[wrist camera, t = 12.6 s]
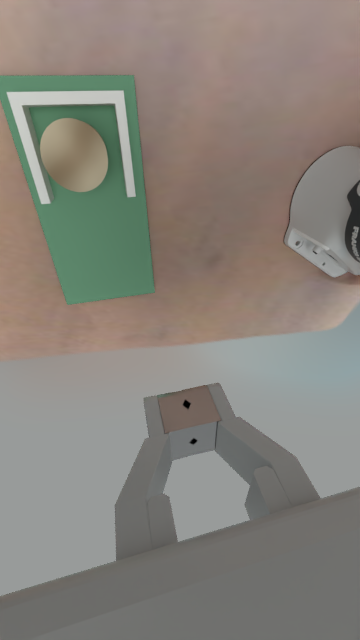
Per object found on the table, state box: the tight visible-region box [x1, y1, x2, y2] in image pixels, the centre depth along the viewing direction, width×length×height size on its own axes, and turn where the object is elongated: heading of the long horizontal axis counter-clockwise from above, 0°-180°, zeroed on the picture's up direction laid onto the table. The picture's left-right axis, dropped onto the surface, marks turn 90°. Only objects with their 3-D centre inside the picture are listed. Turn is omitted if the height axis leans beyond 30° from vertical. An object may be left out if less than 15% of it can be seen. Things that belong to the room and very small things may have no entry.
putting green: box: [0, 75, 155, 305], centre depth 35 cm, size 27×14×4 cm, turn 2°
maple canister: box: [40, 118, 108, 192], centre depth 29 cm, size 6×6×8 cm
